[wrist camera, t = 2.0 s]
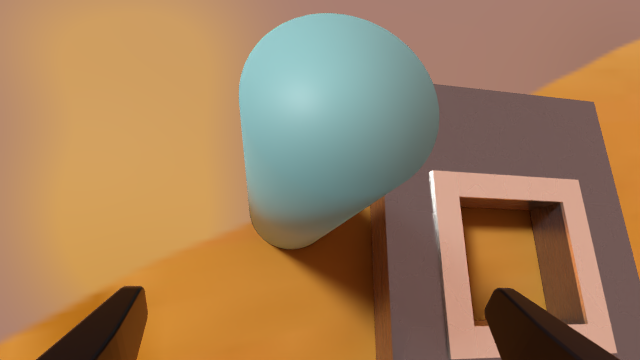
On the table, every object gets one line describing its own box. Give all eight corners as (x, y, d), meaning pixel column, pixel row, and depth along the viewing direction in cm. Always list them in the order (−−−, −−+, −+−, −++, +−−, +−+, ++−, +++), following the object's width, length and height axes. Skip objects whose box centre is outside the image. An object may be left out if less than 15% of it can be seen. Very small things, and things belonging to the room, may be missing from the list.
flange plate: (638, 454, 20) (694, 479, 17) (381, 479, 17) (402, 514, 15) (563, 118, 26) (596, 100, 24) (366, 98, 24) (379, 76, 21)
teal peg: (332, 250, 20) (448, 202, 8) (246, 248, 19) (230, 192, 7) (331, 170, 22) (430, 26, 9) (252, 166, 21) (246, 0, 9)
